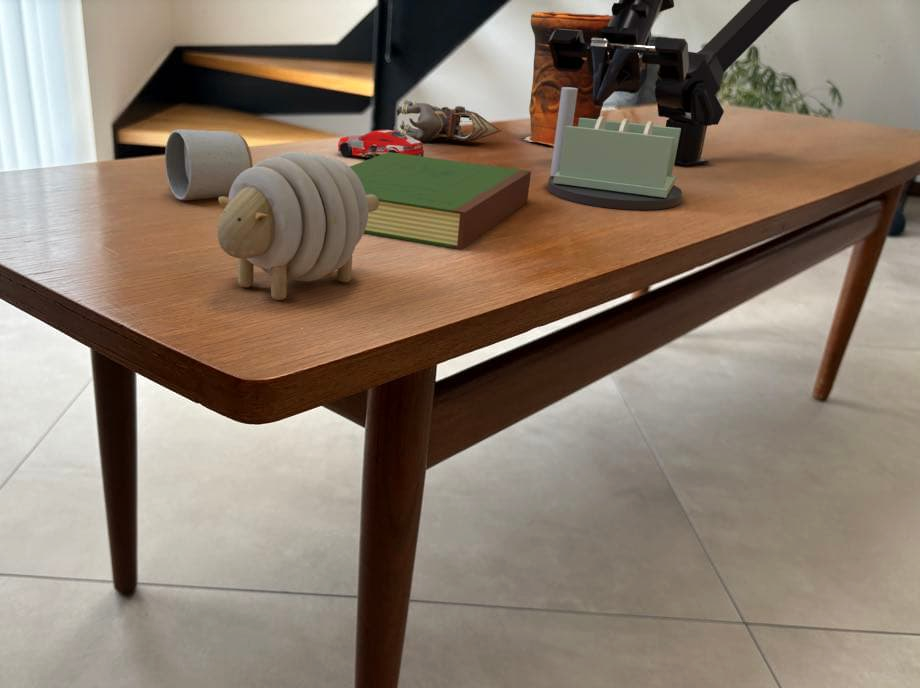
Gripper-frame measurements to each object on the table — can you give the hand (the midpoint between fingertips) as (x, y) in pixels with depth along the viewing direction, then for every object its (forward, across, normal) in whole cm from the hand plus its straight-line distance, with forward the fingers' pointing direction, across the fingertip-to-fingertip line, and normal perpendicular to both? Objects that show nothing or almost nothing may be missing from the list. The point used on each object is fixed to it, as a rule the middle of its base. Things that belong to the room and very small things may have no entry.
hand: (596, 103), depth 120 cm
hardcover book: (+31, +8, +17) cm, 36 cm away
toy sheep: (+52, +2, +38) cm, 64 cm away
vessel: (-10, +14, -25) cm, 30 cm away
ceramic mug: (+39, +30, +25) cm, 55 cm away
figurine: (-1, +28, -15) cm, 31 cm away
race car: (+14, +28, 0) cm, 31 cm away
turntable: (+13, -7, -1) cm, 14 cm away
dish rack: (+12, -6, 0) cm, 13 cm away
